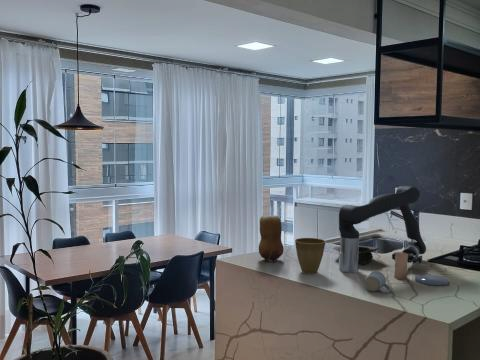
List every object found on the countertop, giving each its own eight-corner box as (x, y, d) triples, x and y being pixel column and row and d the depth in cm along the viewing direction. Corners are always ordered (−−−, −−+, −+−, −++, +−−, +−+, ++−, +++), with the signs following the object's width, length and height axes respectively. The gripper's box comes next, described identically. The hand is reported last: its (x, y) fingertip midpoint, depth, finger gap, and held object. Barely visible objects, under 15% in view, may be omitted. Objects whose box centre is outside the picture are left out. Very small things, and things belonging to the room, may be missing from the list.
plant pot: (330, 272, 233) (331, 241, 232) (311, 278, 224) (311, 245, 222) (307, 266, 245) (308, 236, 243) (288, 271, 235) (288, 239, 233)
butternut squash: (266, 256, 264) (267, 212, 262) (287, 259, 257) (288, 214, 255) (253, 261, 253) (254, 215, 251) (274, 265, 246) (275, 218, 243)
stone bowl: (368, 268, 241) (368, 251, 240) (324, 264, 256) (324, 247, 255) (386, 258, 260) (385, 242, 260) (344, 255, 276) (343, 239, 275)
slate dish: (419, 285, 215) (419, 282, 215) (411, 276, 230) (411, 273, 230) (453, 286, 213) (453, 284, 213) (442, 277, 228) (443, 274, 228)
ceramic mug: (362, 290, 206) (363, 273, 205) (368, 285, 213) (369, 269, 212) (387, 295, 200) (388, 278, 200) (392, 290, 207) (393, 273, 206)
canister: (395, 279, 224) (397, 254, 223) (393, 275, 229) (394, 251, 228) (408, 279, 223) (409, 255, 222) (405, 276, 229) (406, 252, 228)
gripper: (396, 245, 251) (390, 251, 237) (425, 248, 244) (420, 255, 230) (396, 259, 251) (389, 265, 237) (424, 262, 244) (419, 270, 230)
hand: (404, 260), depth 233 cm, fingers open, 8 cm apart
